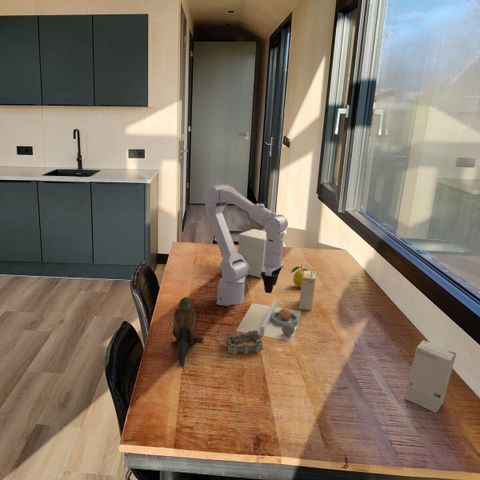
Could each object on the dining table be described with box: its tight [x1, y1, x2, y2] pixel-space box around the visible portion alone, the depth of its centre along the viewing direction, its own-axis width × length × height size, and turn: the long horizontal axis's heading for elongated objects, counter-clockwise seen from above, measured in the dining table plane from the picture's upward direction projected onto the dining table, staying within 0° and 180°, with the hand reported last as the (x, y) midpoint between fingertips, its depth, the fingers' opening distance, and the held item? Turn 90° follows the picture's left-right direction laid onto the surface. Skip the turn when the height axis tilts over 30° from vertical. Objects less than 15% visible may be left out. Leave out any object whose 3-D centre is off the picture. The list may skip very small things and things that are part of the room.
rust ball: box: [279, 307, 291, 320], centre depth 144 cm, size 4×4×4 cm
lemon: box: [290, 264, 309, 288], centre depth 177 cm, size 7×6×10 cm
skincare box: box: [403, 340, 457, 414], centre depth 106 cm, size 8×6×15 cm
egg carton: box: [224, 330, 264, 355], centre depth 128 cm, size 11×8×4 cm
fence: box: [261, 298, 278, 337], centre depth 144 cm, size 1×23×3 cm, turn 165°
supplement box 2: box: [298, 270, 317, 311], centre depth 158 cm, size 8×5×13 cm, turn 168°
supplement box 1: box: [237, 228, 266, 279], centre depth 192 cm, size 13×13×18 cm
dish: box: [271, 311, 300, 327], centre depth 145 cm, size 9×9×2 cm
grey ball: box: [282, 323, 296, 336], centre depth 135 cm, size 4×4×4 cm
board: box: [235, 302, 302, 342], centre depth 145 cm, size 18×23×1 cm
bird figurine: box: [170, 296, 205, 368], centre depth 124 cm, size 13×10×20 cm
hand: (270, 288), depth 148 cm, fingers open, 7 cm apart
